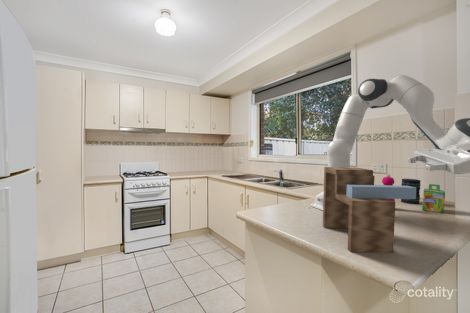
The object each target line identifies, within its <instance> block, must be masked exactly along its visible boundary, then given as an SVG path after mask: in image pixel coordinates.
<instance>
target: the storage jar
mask: <svg viewBox="0 0 470 313" xmlns="http://www.w3.org/2000/svg"><path fill="white" fill-rule="evenodd" d="M400 186H411V187H416V199H400V202H401V203H403V204H408V205H420V200H421V196H420V195H421V194H420V193H421V180H420V179H416V178H401V185H400Z"/></svg>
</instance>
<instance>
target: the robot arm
mask: <svg viewBox="0 0 470 313" xmlns="http://www.w3.org/2000/svg"><path fill="white" fill-rule="evenodd" d="M357 88H358V89H357V93H354V94H351V95H349V97H348V98H347V100H346V102H345V104H344V106H343V108H342V110H341V112H340V115H339V119H338V121H337V125H336V127H335V131H334V136H333V139H332V141H331V142H329V143H328V145H327V148H326V149H327V150H326V154H327V156H326V158H327V167H351V153H352V150H353V148H354V144H355V142H356V139H357V136H358V132H359V130H360V128H361V124H362V122H363V119H364V116H365V113H367V110H368V109H369V108H370V109H378V108H386V107H388V106H390V105H391V104H392V103H394V101H396V102H397V103H398V104H399V105H401V106H402V107H403V108H404V109H405V111H406V112H407V113H408V115H409V117H410V119H411V121H412V123H413V124H414V126H416V128H417V129H418V130H420V131H421V133H422V134H423V135H425V137H426V138H427V139H428V140H429V141H430V142H431V143H432V145H434V148H433V147H431V148H422V149H416V150H414V151H413V156H412V157H408V158H407V159H408V163H409V164H415V163H416V162H421V163H424V164H427V165H426V170H428V171H430V172H432V171H433V172H434V171H445V172H447V173H451V174H452V175H453V174H454V175H464V174H470V117H465V118H460V119H458V120H456V121H455V122H454V123H453V125H452V126H451V127H450V128H449V129H448V131H447V132H446V131H445V130H444V129H443V128H442V127H441V126H440V125H439V124H437V122H436V120H434V117H433V108H434V104H435V94H434V92H433V91H432V90H431V88H429V86H427V85H425V84H424V83H422V82H421V81H418V79H416V78H415V79H414V78H413V77H410V76H408V75H405V74H400V75H397V76H395V77H394V78H392V79H390V81H387V80H386V79H383V78H381V79H380V78H379V79H378V78H367V79H365V80H363V81H362V82H361V83H360V84H359V86H358V87H357ZM323 188H324V185H323ZM323 198H324V190H323V191H321V192H320V193H318V194H316V196H315V197H314V202H311V203H310V207H313V208H316V209H317V210H321V211H323Z"/></svg>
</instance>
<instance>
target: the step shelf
mask: <svg viewBox="0 0 470 313" xmlns="http://www.w3.org/2000/svg"><path fill="white" fill-rule="evenodd" d="M323 170H324V172H323V175H324V176H323V186H324V187H323V191H324V198H323V210H322V227H323V229H348V230H347V231H348V232H347V233H348V234H347V250H348V251H349V252H350V253H383V254H384V253H386V254H388V253H390V254H393V253H394V245H395V244H394V243H395V242H394V241H395V240H394V239H395V224H396V223H395V220H396V219H395V218H396V201H392V200H389V199H380V198H351V197H348V196H346V191H347V185H375V177H376V176H375V175H374V170H373V169H367V168H363V167H362V168H361V167H352V166H350V167H328V166H324V168H323Z"/></svg>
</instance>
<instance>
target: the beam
mask: <svg viewBox="0 0 470 313" xmlns="http://www.w3.org/2000/svg"><path fill="white" fill-rule="evenodd" d="M346 196H348V197H351V198H380V199H395V200H396V199H397V200H401V199H416V187H411V186H402V185H394V184H393V185H384V184H383V185H382V184H381V185H380V184H374V185H347V191H346Z"/></svg>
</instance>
